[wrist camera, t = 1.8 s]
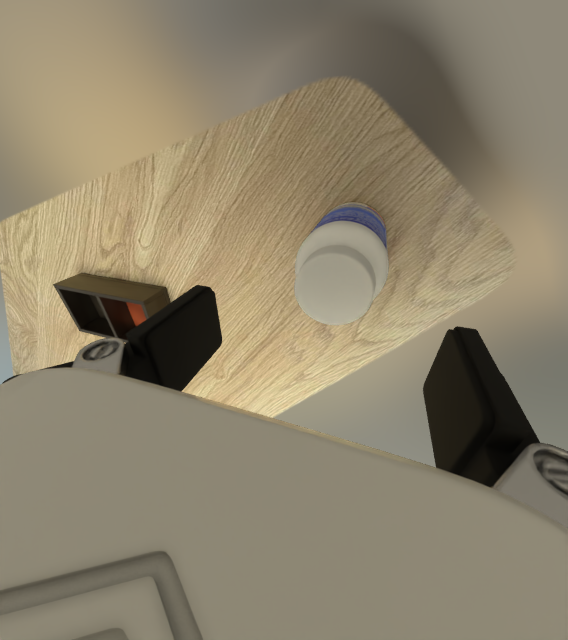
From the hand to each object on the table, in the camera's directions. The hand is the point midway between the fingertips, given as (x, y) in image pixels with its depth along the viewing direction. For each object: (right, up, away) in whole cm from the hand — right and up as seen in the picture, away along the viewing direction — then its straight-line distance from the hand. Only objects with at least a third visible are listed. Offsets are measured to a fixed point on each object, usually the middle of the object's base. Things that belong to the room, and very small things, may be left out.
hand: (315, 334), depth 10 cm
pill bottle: (+4, +7, +10) cm, 13 cm away
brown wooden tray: (-22, +3, +23) cm, 32 cm away
